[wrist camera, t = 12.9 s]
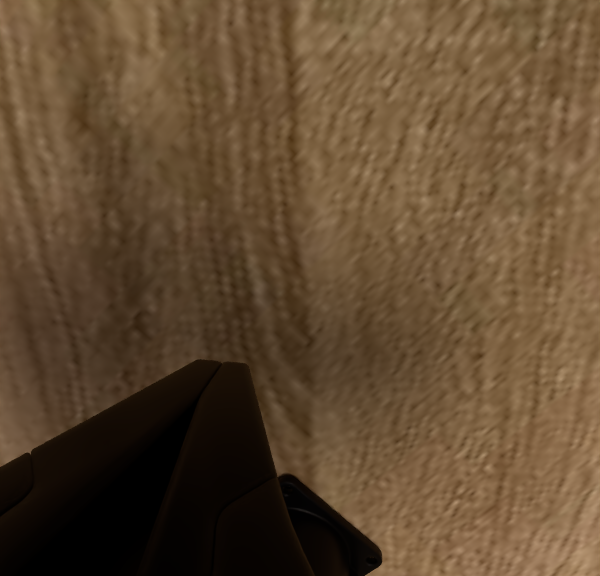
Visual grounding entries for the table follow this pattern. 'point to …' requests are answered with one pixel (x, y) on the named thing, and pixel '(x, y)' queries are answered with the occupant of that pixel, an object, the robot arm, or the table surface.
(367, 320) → the table surface
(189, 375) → the robot arm
